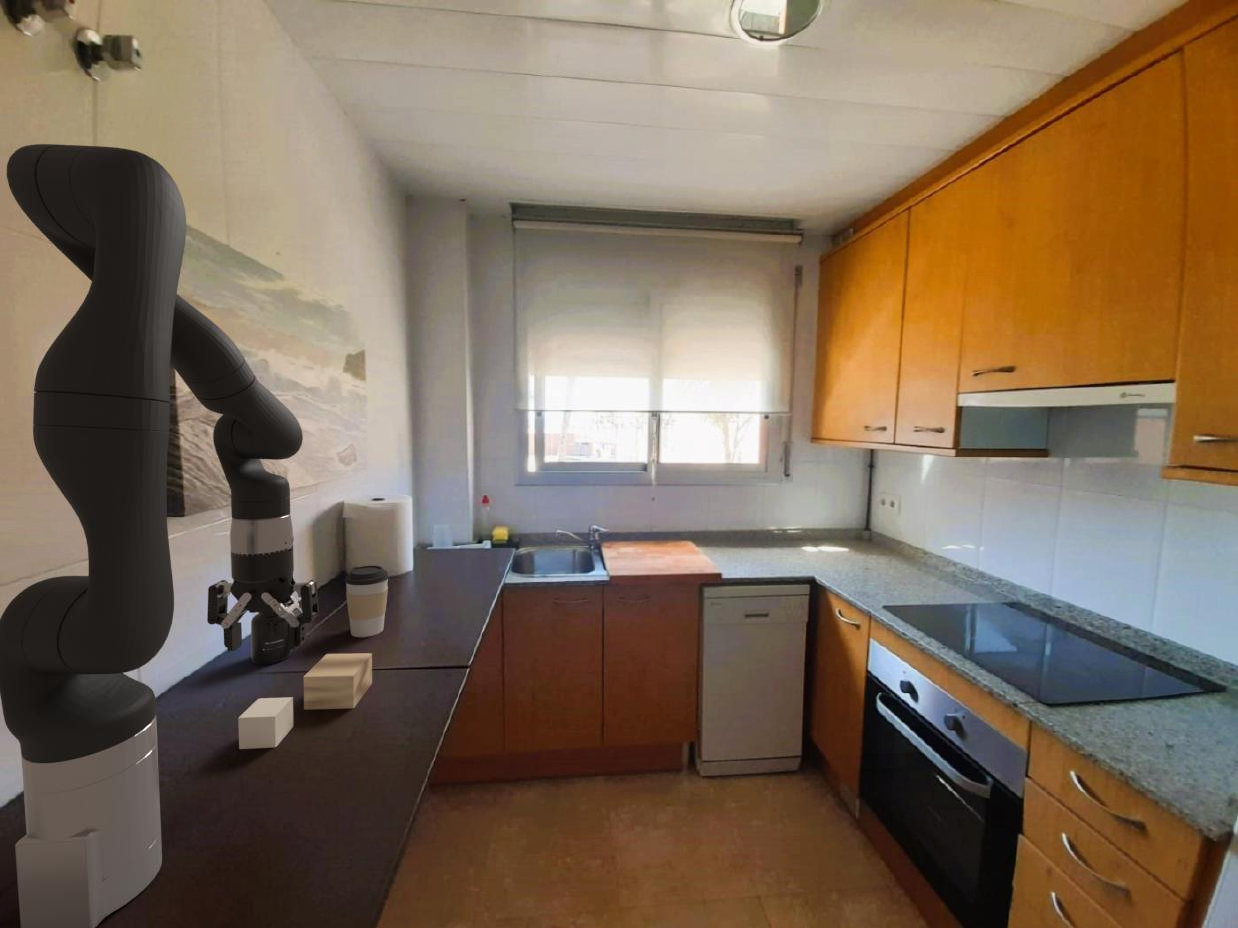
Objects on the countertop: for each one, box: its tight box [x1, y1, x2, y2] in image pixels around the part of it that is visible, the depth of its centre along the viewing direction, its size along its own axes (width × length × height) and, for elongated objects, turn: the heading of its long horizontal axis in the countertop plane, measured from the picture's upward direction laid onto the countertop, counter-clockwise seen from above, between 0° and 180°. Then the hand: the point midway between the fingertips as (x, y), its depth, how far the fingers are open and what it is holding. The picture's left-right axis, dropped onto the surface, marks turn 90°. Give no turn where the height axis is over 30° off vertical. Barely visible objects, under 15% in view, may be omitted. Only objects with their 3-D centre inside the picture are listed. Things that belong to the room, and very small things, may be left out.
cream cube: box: [237, 696, 294, 750], centre depth 74 cm, size 5×5×5 cm
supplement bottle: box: [250, 603, 293, 666], centre depth 98 cm, size 7×7×12 cm
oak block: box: [303, 652, 373, 710], centre depth 86 cm, size 8×8×6 cm
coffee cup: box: [344, 564, 390, 638], centre depth 111 cm, size 9×9×15 cm
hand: (265, 648), depth 73 cm, fingers open, 8 cm apart
